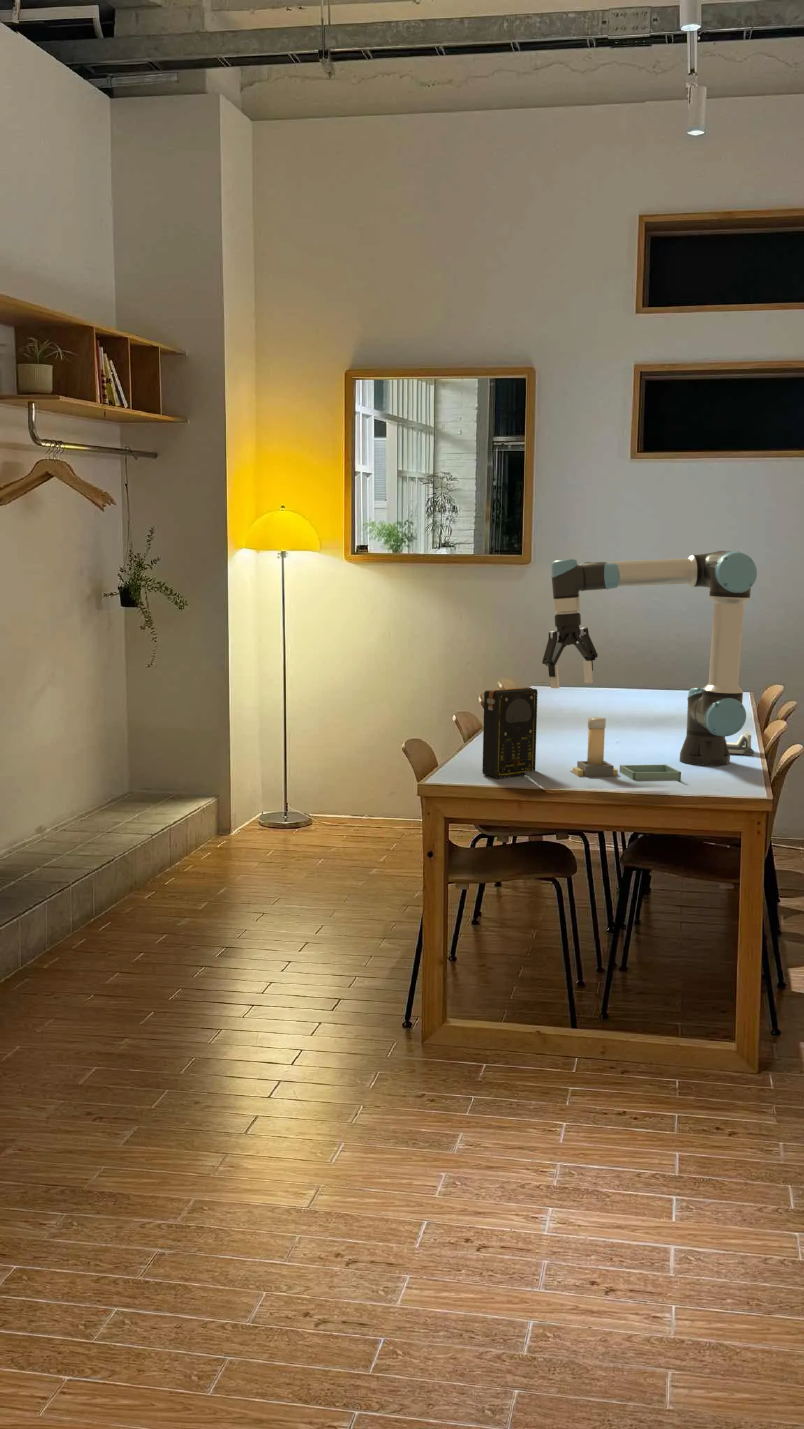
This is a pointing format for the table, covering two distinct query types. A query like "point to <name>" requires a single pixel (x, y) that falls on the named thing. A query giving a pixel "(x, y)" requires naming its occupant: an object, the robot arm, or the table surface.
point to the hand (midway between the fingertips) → (572, 685)
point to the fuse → (596, 741)
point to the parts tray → (650, 772)
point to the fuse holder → (595, 770)
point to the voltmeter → (509, 732)
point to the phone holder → (742, 745)
